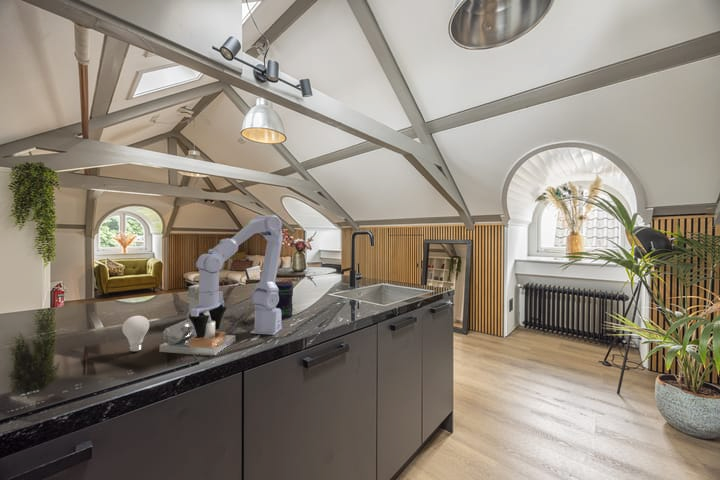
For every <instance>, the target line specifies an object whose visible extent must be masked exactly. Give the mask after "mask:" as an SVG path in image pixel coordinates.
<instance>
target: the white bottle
mask: <svg viewBox="0 0 720 480" xmlns="http://www.w3.org/2000/svg"><path fill="white" fill-rule="evenodd" d="M215 331H216V329H215V321H213V320H211V318H208V321H207V324H206V332H205V336H204V337H200V338H203V339H212V338H214V337H215Z"/></svg>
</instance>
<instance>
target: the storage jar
mask: <svg viewBox="0 0 720 480" xmlns="http://www.w3.org/2000/svg"><path fill="white" fill-rule="evenodd" d="M275 284H276V286H277V287H278V289H279V290H278V295H279V302H278V304H277V305H276V308H279V309H281V314H282V315H281V321H283V320H287V319H288V320H289V319H292V317H293V310H294V309H293V308H294V307H293V306H294V305H293V296H294V293H293V292H294V286H293V285H294V283H293V282H291V281H290V282H289V281H275Z"/></svg>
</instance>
